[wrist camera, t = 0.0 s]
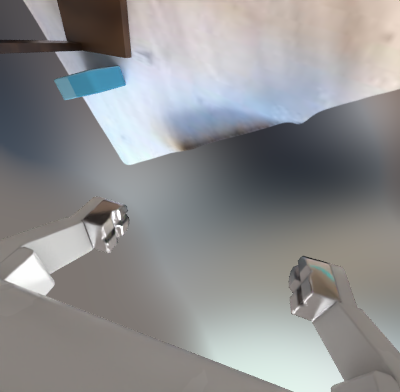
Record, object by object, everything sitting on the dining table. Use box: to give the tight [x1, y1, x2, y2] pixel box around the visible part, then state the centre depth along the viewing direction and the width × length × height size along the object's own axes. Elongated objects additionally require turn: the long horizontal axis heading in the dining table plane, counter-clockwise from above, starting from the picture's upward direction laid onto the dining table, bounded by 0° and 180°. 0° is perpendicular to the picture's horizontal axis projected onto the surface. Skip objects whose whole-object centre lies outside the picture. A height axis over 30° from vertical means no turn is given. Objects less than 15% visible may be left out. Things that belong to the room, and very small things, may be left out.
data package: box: [54, 66, 126, 100], centre depth 51 cm, size 12×4×12 cm, turn 102°
